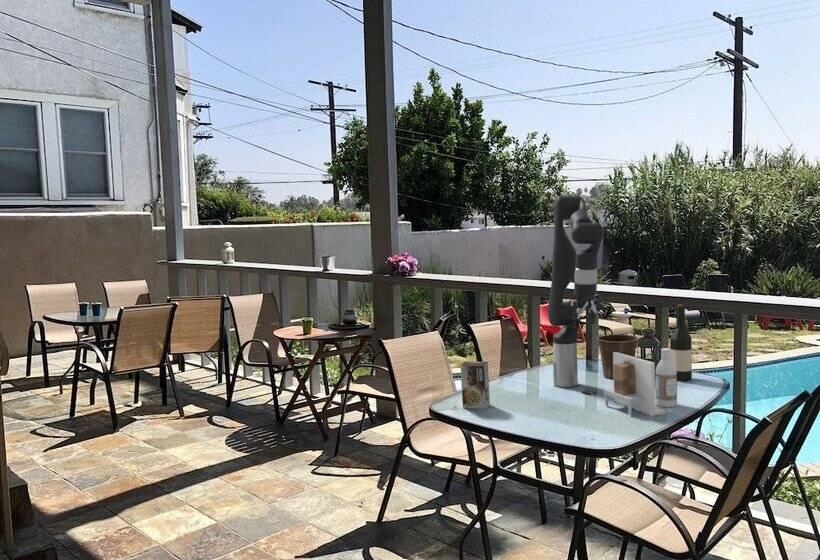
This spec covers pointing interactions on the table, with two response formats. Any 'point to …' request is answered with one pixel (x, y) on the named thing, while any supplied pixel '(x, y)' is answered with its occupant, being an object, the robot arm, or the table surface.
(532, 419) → the table surface
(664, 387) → the bath foam
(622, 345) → the plant pot
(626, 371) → the brown tall block
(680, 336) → the wine bottle
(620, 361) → the wall shelf
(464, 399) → the coffee box
